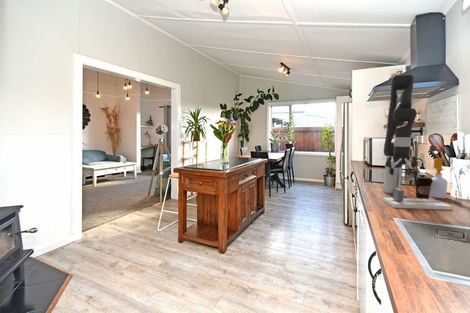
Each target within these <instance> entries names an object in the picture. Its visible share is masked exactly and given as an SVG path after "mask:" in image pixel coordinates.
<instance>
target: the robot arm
mask: <svg viewBox="0 0 470 313" xmlns="http://www.w3.org/2000/svg"><path fill="white" fill-rule="evenodd" d="M413 89H414V76H413V74H410V73H409V74H408V73H407V74H394V75H393V76H392V78H391V83H390V98H389V99H390V100H389V108H388V115H387V126H386V134H385V139H384V145H383V155H384V156H385V157H386V161H385V166H384V177H383V193H387V194H392V195H393V188H399V189H401V183H402V168H403V165H404V166H406V167H407V168H406V176H411V175H412V169H415V168H417V157H416V156H411V146H412V145H411V143H412V140H411V137H412V127H413V125H414V123H415V120H416V117H417V115H418V114H417V113H418V112H417V110H416V109H415V108H413V107H412V105H413V104H412V103H413V102H412V94H413ZM398 91H402V92H401V93H399V95H398V94H397V93H398ZM405 122H406V124H405ZM404 124H405V125H404ZM393 138H394V141H393ZM409 161H410V162H409Z"/></svg>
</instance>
